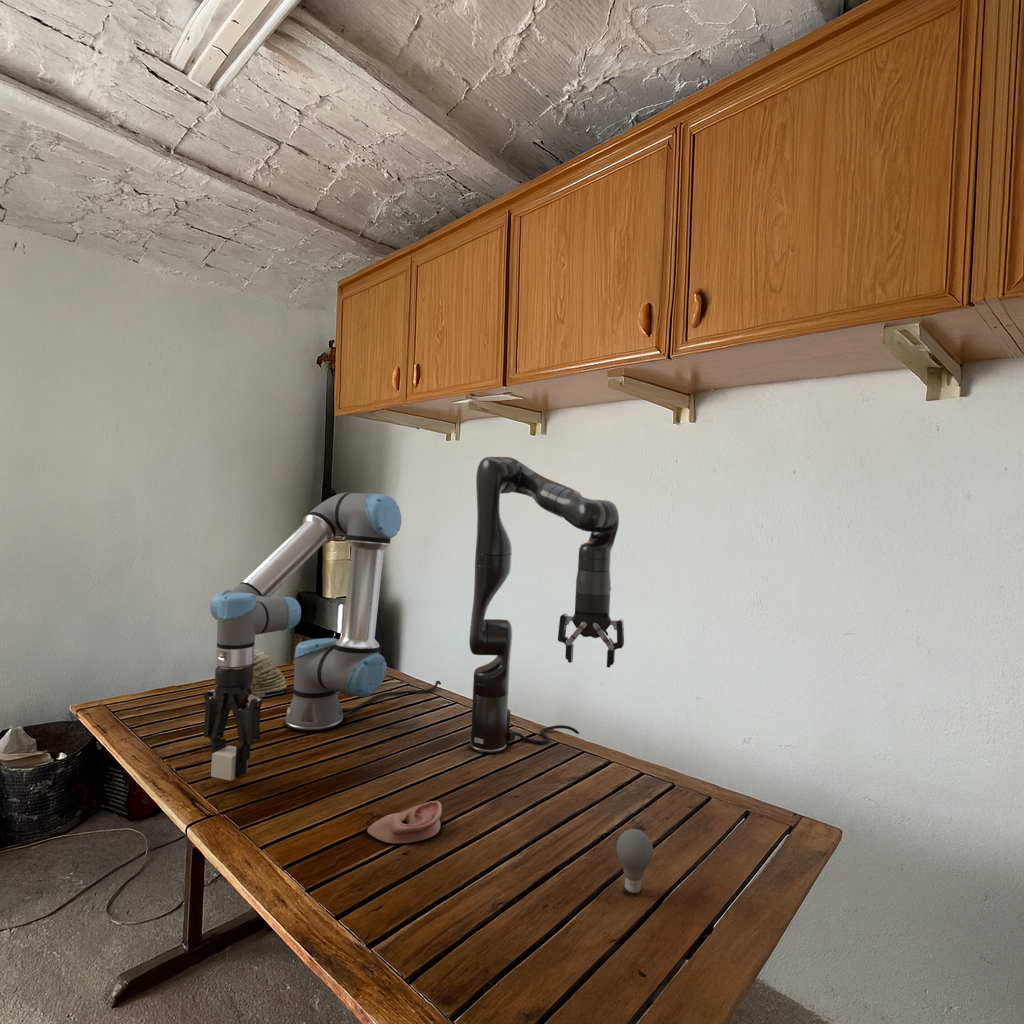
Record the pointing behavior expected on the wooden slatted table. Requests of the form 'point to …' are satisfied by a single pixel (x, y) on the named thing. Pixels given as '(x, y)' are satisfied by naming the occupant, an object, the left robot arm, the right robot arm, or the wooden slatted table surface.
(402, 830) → the anatomical model
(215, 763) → the block
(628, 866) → the light bulb
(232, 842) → the wooden slatted table surface
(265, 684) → the fossil
